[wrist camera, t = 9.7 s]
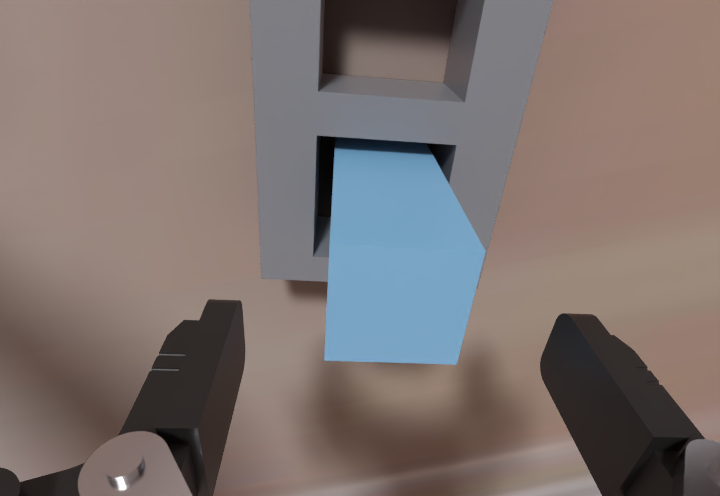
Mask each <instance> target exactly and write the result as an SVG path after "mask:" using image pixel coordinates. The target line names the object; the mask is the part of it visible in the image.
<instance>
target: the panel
mask: <svg viewBox="0 0 720 496" xmlns="http://www.w3.org/2000/svg"><path fill="white" fill-rule="evenodd" d="M552 4H553V0H457V4H456V10H455V16H454V22H453V28H452V34H451V40H450V46H449V52H448V58H447V64H446V70H445V76H444V82H443V83H438V82H426V81H413V80H400V79H387V78H375V77H362V76H349V75H337V74H324V73H322V72H323V43H324V14H325V0H250V18H251V42H252V67H253V91H254V115H255V139H256V164H257V188H258V212H259V236H260V260H261V279H279V280H301V281H323V282H328V267H329V245H330V226H331V217H319V216H318V190H319V160H320V136H332V137H346V138H361V139H375V140H390V141H404V142H419V143H433V148H432V154H433V156H434V158H435V159H436V161H437V163H438V165H439V167H440V169H441V170H442V172H443V174H444V176H445V178H446V180H447V181H448V183H449V185H450V187H451V189H452V191H453V192H454V194H455V196H456V198H457V200H458V202H459V203H460V205H461V207H462V209H463V211H464V213H465V214H466V216H467V218H468V220H469V222H470V224H471V225H472V227H473V229H474V231H475V233H476V235H477V236H478V238H479V240H480V242H481V244H482V245H483V247H484V249H485V251H486V252H485V256H484V259H483V263H482V267H481V271H480V275H479V279H478V283H477V287H476V289H478V285H479V281H480V278H481V274H482V270H483V266H484V262H485V259H486V255H487V251H488V247H489V243H490V240H491V236H492V232H493V228H494V224H495V221H496V217H497V213H498V209H499V205H500V202H501V198H502V194H503V190H504V186H505V183H506V179H507V175H508V171H509V167H510V164H511V160H512V156H513V152H514V148H515V145H516V141H517V137H518V133H519V129H520V126H521V122H522V118H523V114H524V110H525V107H526V103H527V99H528V95H529V91H530V88H531V84H532V80H533V76H534V72H535V69H536V65H537V61H538V57H539V53H540V50H541V46H542V42H543V38H544V34H545V31H546V27H547V23H548V19H549V15H550V12H551V8H552Z"/></svg>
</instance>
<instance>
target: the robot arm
mask: <svg viewBox="0 0 720 496" xmlns="http://www.w3.org/2000/svg"><path fill="white" fill-rule="evenodd" d="M244 362H245V338H244V324H243V310H242V303H241V301H238V300H211V299H210V300H208V301H207V303H206V306H205V308H204V310H203V313H202V315H201V318H200V320H199V321H197V320H184V321H183V322H181V323H180V324H179V325H178V326H177V327H176V328H175V329H174V330H173V331H171V332H170V333H169V334H168V335H167V337H166V339H165V341H164V343H163V346H162V348H161V350H160V352H159V356H157V358H156V360H155V362H154V364H153V366H152V371H150V372H149V374H148V376H147V378H146V380H145V383H144V385H143V387H142V389H141V391H140V393H139V395H138V397H137V399H136V401H135V403H134V405H133V407H132V409H131V411H130V413H129V415H128V418H127V420H126V422H125V424H124V426H123V428H122V430H121V431H120V433H119V435H118V436H117V437H114V438H112V439H111V440H109V441H107V442H106V443H104V444H103V445H101V446H100V447H99V448H98V449H96V450H95V451H94V452H93V453H92V454H91V455H90V457H89V458H88V459H87V461H86V462H85V463H83V464H81V465H78V466H76V467H73V468H70V469H67V470H64V471H60V472H56V473H52V474H49V475H45V476H41V477H38V478H34V479H30V480H27V481H23V482H19V480H18V478H17V476H16V475H15V474H14V473H13V472H12V471H10V470H7V469H4V468H0V496H213V493H214V488H215V484H216V480H217V476H218V472H219V468H220V464H221V460H222V456H223V452H224V448H225V444H226V440H227V435H228V431H229V427H230V423H231V419H232V415H233V411H234V407H235V403H236V399H237V395H238V391H239V387H240V383H241V378H242V374H243V370H244ZM540 370H541V376H542V379H543V381H544V384H545V385H546V387H547V389H548V391H549V393H550V395H551V397H552V399H553V401H554V403H555V405H556V407H557V409H558V411H559V413H560V415H561V417H562V418H563V420H564V422H565V424H566V426H567V428H568V430H569V432H570V434H571V436H572V438H573V440H574V442H575V444H576V446H577V448H578V450H579V451H580V453H581V455H582V457H583V459H584V461H585V463H586V465H587V467H588V469H589V471H590V473H591V475H592V477H593V479H594V481H595V483H596V484H597V486H598V488H599V490H600V492H601V494H602V496H720V443H719V442H716V441H713V440H707V439H705V438H704V437H703V436H702V434H701V433H700V432H699V431H698V429H697V428H696V427H695V426H694V424H693V423H692V422H691V421H690V419H689V418H688V417H687V416H686V414H685V413H684V412H683V411H682V410H681V408H680V407H679V406H678V405H677V403H676V402H675V401H674V400H673V398H672V397H671V396H670V395H669V393H668V392H667V391H666V390H665V388H664V387H663V386H662V385H659V381H658V380H657V378H656V377H655V376H654V375H653V374H652V372H651V371H648V370H647V366H646V365H645V364H644V362H643V361H642V360H641V359H640V357H639V356H638V355H637V354H636V352H635V351H634V350H633V349H631V348H630V347H629V346H628V345H626V344H625V343H624V342H622V341H621V340H620V339H618V338H617V337H616V336H614V335H610V334H609V332H608V331H607V330H606V328H605V327H604V326H603V325H602V323H601V322H600V321H599V319H598V318H597V317H596V316H594V315H591V314H565V313H563V314H560V315H559V316H558V318H557V319H556V322H555V324H554V327H553V329H552V332H551V334H550V337H549V339H548V342H547V344H546V347H545V349H544V351H543V354H542V357H541V362H540Z"/></svg>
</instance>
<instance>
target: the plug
mask: <svg viewBox="0 0 720 496" xmlns="http://www.w3.org/2000/svg"><path fill="white" fill-rule="evenodd" d="M485 252H486V251H485V249H484V247H483V245H482V244H481V242H480V240H479V238H478V236H477V235H476V233H475V231H474V229H473V227H472V225H471V224H470V222H469V220H468V218H467V216H466V214H465V213H464V211H463V209H462V207H461V205H460V203H459V202H458V200H457V198H456V196H455V194H454V192H453V191H452V189H451V187H450V185H449V183H448V181H447V180H446V178H445V176H444V174H443V172H442V170H441V169H440V167H439V165H438V163H437V161H436V159H435V158H434V156H433V154H432V152H431V150H430V148H429V147H428V145H427V143H419V142H404V141H390V140H375V139H361V138H346V137H335V152H334V170H333V189H332V207H331V226H330V245H329V267H328V289H327V312H326V334H325V356H324V361H356V362H389V363H423V364H456V365H457V362H458V358H459V354H460V350H461V346H462V342H463V338H464V334H465V330H466V326H467V322H468V318H469V315H470V311H471V307H472V303H473V299H474V295H475V291H476V287H477V283H478V279H479V275H480V271H481V267H482V263H483V259H484V256H485Z"/></svg>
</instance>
